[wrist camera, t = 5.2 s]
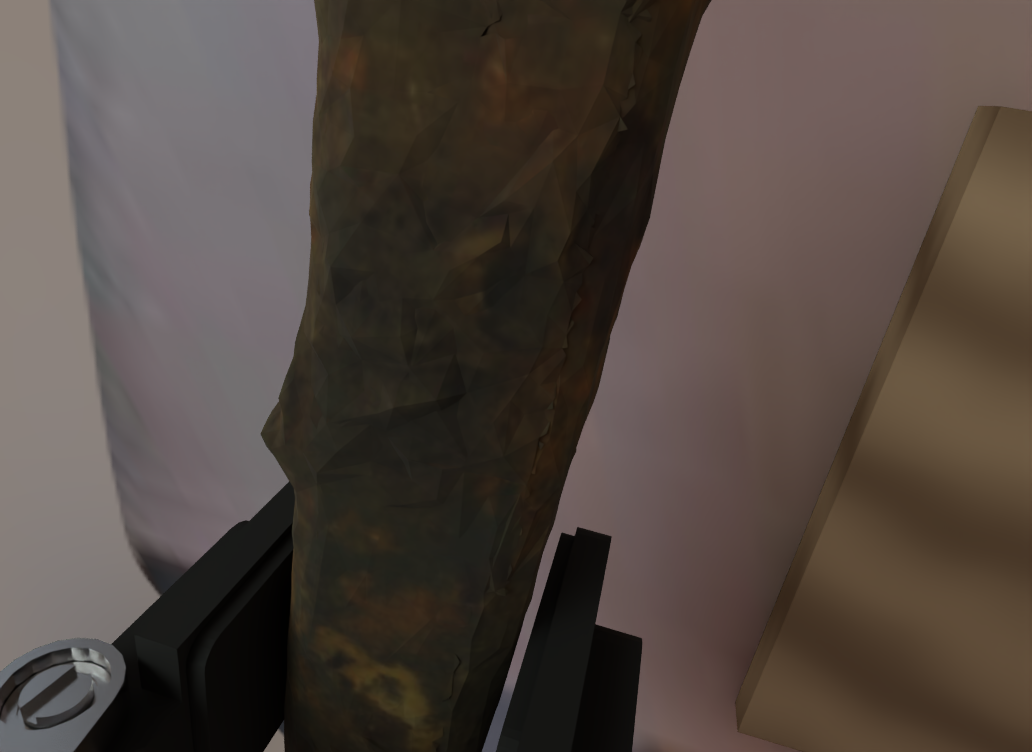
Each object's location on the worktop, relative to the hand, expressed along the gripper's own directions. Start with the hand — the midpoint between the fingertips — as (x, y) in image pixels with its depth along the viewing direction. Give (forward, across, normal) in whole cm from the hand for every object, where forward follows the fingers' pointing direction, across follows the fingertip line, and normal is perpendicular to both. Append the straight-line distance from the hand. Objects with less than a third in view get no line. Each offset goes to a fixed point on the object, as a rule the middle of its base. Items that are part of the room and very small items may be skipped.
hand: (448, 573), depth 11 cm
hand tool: (+1, 0, 0) cm, 1 cm away
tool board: (+15, -16, +4) cm, 22 cm away
